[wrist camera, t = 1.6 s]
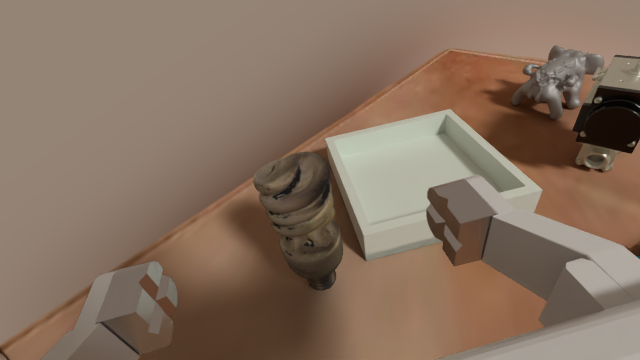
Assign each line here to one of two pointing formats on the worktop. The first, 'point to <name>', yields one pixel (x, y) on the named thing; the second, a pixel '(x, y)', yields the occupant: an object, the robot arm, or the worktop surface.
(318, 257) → the light bulb
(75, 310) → the worktop surface
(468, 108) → the worktop surface
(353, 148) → the tray
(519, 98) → the gray elephant figurine
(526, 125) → the worktop surface
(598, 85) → the pneumatic valve
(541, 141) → the worktop surface
